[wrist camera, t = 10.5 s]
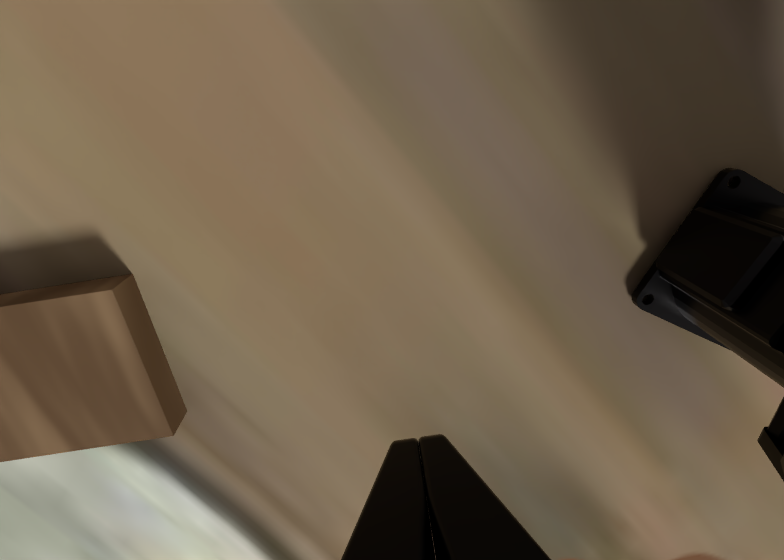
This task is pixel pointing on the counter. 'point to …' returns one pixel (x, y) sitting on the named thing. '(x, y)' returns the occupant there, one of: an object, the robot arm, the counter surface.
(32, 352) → the walnut tile
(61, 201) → the counter surface
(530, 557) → the robot arm
